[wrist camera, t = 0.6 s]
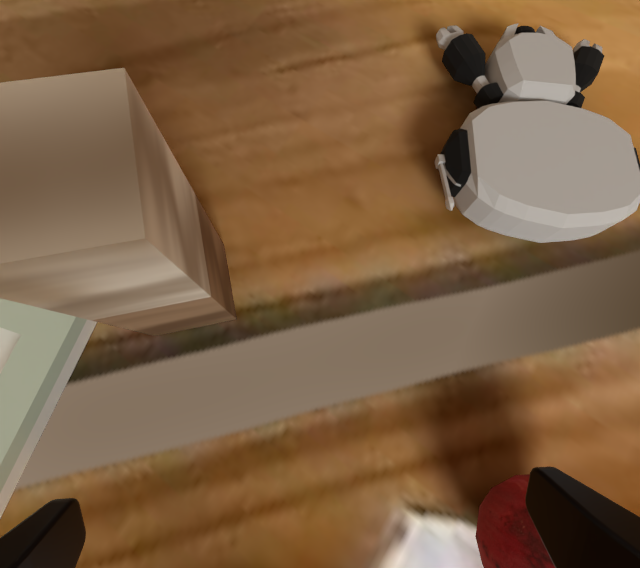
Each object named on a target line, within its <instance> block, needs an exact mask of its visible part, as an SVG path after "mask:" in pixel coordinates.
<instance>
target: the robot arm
mask: <svg viewBox="0 0 640 568" xmlns="http://www.w3.org/2000/svg"><path fill="white" fill-rule="evenodd" d="M525 503H526V507H527V510H528V513H529V515H530V517H531V519H532V521H533V523H534V525H535V527H536V529H537V531H538V533H539V535H540V537H541V539H542V542H543V544H544V546H545V548H546V550H547V552H548V554H549V556H550V558H551V560H552V562H553V564H554V566H555V568H640V517H639V516H637V515H635V514H634V513H632V512H630V511H628V510H627V509H625V508H623V507H622V506H620V505H618V504H616V503H615V502H613V501H611V500H610V499H608V498H606V497H604V496H603V495H601V494H599V493H598V492H596V491H594V490H593V489H591V488H589V487H587V486H586V485H584V484H582V483H581V482H579V481H577V480H575V479H574V478H572V477H570V476H569V475H567V474H565V473H563V472H562V471H560V470H558V469H556V468H554V467H536V468H533V469H532V470H531V472H530V476H529V481H528V486H527V491H526V497H525ZM85 536H86V531H85V526H84V522H83V517H82V513H81V509H80V505H79V502H78V501H77V500H76V499H74V498H69V499H55V500H52V501H50V502H48V503H47V504H45V505H44V506H43V507H41V508H40V509H39V510H37V511H36V512H35V513H33V514H32V515H31V516H29V517H28V518H27V519H25V520H24V521H22V522H21V523H20V524H18V525H17V526H16V527H14V528H13V529H12V530H10V531H9V532H8V533H6V534H5V535H4V536H2V537H1V538H0V568H75V567H76V564H77V561H78V559H79V556H80V554H81V551H82V548H83V545H84V542H85Z"/></svg>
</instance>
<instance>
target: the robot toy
mask: <svg viewBox="0 0 640 568" xmlns="http://www.w3.org/2000/svg"><path fill="white" fill-rule="evenodd" d="M517 26H518V23H517V24H514V25H511V26H507V28H506V30H505V32H504V33H503V35H502V37H501V39H500V40H499V42H498V43H497V45H496V47H495V48H494V50H493V52H492V54H491V55H490V57H489V59H488V61H487V62H486V64H485V53H484V51H483V50H482V48H481V47H480V45H479V44H478V42H477V41H476V39H475V38H474V36H473V35H472V34H467V33H466V34H463V31H462V30H461V29H460V28H459V27H458V26H448V28H447V29H446V28H440V30H439V31H438V33H437V34H436V40H437V43H438V47H439V48H441V49H443V50H445V51H444V55H443V59H442V62H443V64H444V65H445V67H446V68H447V70H448V72H449V73H450V75H451V76H452V78H453V79H454V80H455V81H458V82H460V83H463V84H467V85H470V86H472V87H473V88H474V90H475V91H476V93H477V95H476V97H475V100H474V104H475V105H476V107H477V108H478V109H477V110H475V111H473V112H471V113H469V115H468V116H467V118H466V120H465V121H464V123H463V125H462V126H461V128H460V129H458V130H454V131H453V132H452V134H451V135H450V137H449V139H448V140H447V142H446V144H445V146H444V147H443V149H442V152H441V154H438V155H437V157H436V160H435V166H436V169H439V172H440V176H441V181H442V185H443V190H444V194H445V198H446V201H445V204H446V208H447V209H448V210H450V211H452V209H453V206H454V204H455V205H456V207H457V208H458V209H459V211H460V212H461V213H462V215H464V216H465V217H467V218H468V219H470V220H471V221H472V222H474V223H475V224H477V225H479V226H481V227H483V228H485V229H488V230H491V231H494V232H497V233H500V234H503V235H506V236H511V237H515V238H520V239H525V240H529V241H534V242H538V243H544V242H557V241H570V240H577V239H582V238H586V237H590V236H593V235H596V234H598V233H600V232H602V231H603V230H605V229H607V228H609V227H611V226H613V225H614V224H616V223H618V222H620V221H622V220H624V219H625V218H627V217H628V216H629V215H631V214H632V213H634V212H635V211H636V210H637V208H638V205H639V203H640V163H639V159H638V155H637V151H636V148H634V147H633V143H632V140H631V136H630V134H628V133H627V132H626V131H624V130H623V129H622V128H621V127H619V126H618V125H617V124H615V123H614V122H613V121H611V120H610V119H609V118H607V117H604V116H602V115H599V114H596V113H594V112H591V111H588V110H585V109H582V108H581V107H582V104H583V101H584V98H585V97H584V96H583V95H582V94H581V93H580V92H581V91H583V90H584V89H585V88H587V87H588V86H590V85H591V84H592V82H593V81H594V79H595V77H596V76H597V74H598V72H599V69H600V66H601V64H602V61H603V58H604V55H603V54H602V47H601V46H599V45H597V44H594V45H593V46H592V47H591V46H589V43H590V41H587V40H585V39H583V40H582V41H580V42H578V43H577V45H576V46H575V47H574V49H573V50H572V47H571V46H570V45H568V44H567V43H565V42H564V41H562V40H561V39H559V38H558V37H556V36H555V34H554V33H553V31H551V30H549V29H546V28H544V27H542V26H540V27H539V28H538V30H537V31H536V33H535V31H534V29H533V28H532V27H529V26H520V27H518V28H517ZM451 196H453V197H454V200H453V197H451Z"/></svg>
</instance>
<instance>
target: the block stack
mask: <svg viewBox="0 0 640 568" xmlns="http://www.w3.org/2000/svg"><path fill="white" fill-rule="evenodd" d="M0 298H1V299H6V300H10V301H14V302H18V303H22V304H26V305H30V306H34V307H38V308H42V309H46V310H50V311H55V312H59V313H63V314H67V315H71V316H75V317H79V318H83V319H87V320H91V321H95V322H99V323H104V324H108V325H112V326H116V327H120V328H124V329H128V330H132V331H136V332H140V333H144V334H148V335H153V336H158V335H163V334H168V333H173V332H177V331H182V330H187V329H192V328H197V327H202V326H207V325H211V324H216V323H221V322H226V321H231V320H236V319H237V318H236V312H235V307H234V301H233V295H232V289H231V283H230V277H229V272H228V266H227V260H226V254H225V248H224V244H223V243H222V241H221V239H220V237H219V236H218V234H217V232H216V230H215V228H214V227H213V225H212V223H211V221H210V219H209V218H208V216H207V214H206V212H205V211H204V209H203V207H202V205H201V203H200V202H199V200H198V198H197V196H196V195H195V193H194V191H193V189H192V187H191V186H190V184H189V182H188V180H187V178H186V177H185V175H184V173H183V171H182V170H181V168H180V166H179V164H178V162H177V161H176V159H175V157H174V155H173V154H172V152H171V150H170V148H169V146H168V145H167V143H166V141H165V139H164V138H163V136H162V134H161V132H160V130H159V129H158V127H157V125H156V123H155V121H154V120H153V118H152V116H151V114H150V113H149V111H148V109H147V107H146V105H145V104H144V102H143V100H142V98H141V97H140V95H139V93H138V91H137V89H136V88H135V86H134V84H133V82H132V81H131V79H130V77H129V75H128V73H127V72H126V70H125V68H118V69H109V70H101V71H93V72H85V73H76V74H68V75H60V76H52V77H43V78H35V79H27V80H19V81H10V82H2V83H0Z"/></svg>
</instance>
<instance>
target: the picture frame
mask: <svg viewBox="0 0 640 568" xmlns="http://www.w3.org/2000/svg"><path fill="white" fill-rule="evenodd" d="M96 323H97V322H95V321H91V320H87V319H83V318H79V317H75V316H71V315H67V314H63V313H59V312H55V311H50V310H46V309H42V308H38V307H34V306H30V305H26V304H22V303H18V302H14V301H10V300H6V299H1V298H0V518H1V516H2V514H3V512H4V510H5V508H6V506H7V504H8V502H9V500H10V498H11V496H12V494H13V492H14V490H15V488H16V486H17V484H18V482H19V480H20V478H21V476H22V474H23V471H24V470H25V468H26V466H27V463H28V461H29V459H30V457H31V455H32V453H33V451H34V449H35V447H36V445H37V443H38V441H39V439H40V437H41V435H42V433H43V431H44V429H45V427H46V425H47V423H48V421H49V419H50V417H51V415H52V413H53V411H54V408H55V406H56V405H57V402H58V400H59V398H60V396H61V394H62V392H63V390H64V388H65V386H66V384H67V382H68V380H69V378H70V376H71V374H72V372H73V370H74V368H75V366H76V364H77V362H78V360H79V358H80V356H81V354H82V352H83V350H84V348H85V346H86V344H87V342H88V340H89V338H90V336H91V334H92V332H93V330H94V328H95V325H96Z"/></svg>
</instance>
